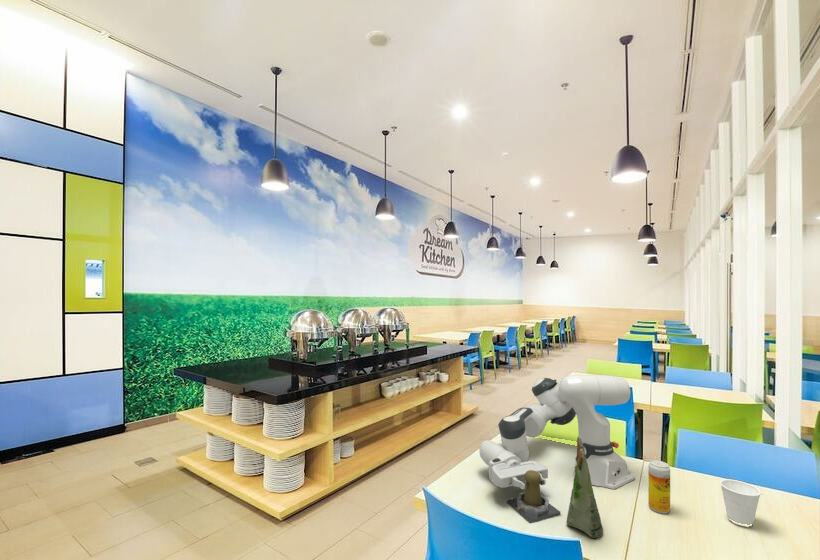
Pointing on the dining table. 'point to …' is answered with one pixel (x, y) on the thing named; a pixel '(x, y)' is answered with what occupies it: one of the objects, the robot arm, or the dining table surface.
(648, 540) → the dining table surface
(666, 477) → the pill bottle
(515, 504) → the hub socket
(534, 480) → the cork
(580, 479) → the pouch
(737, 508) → the cup
